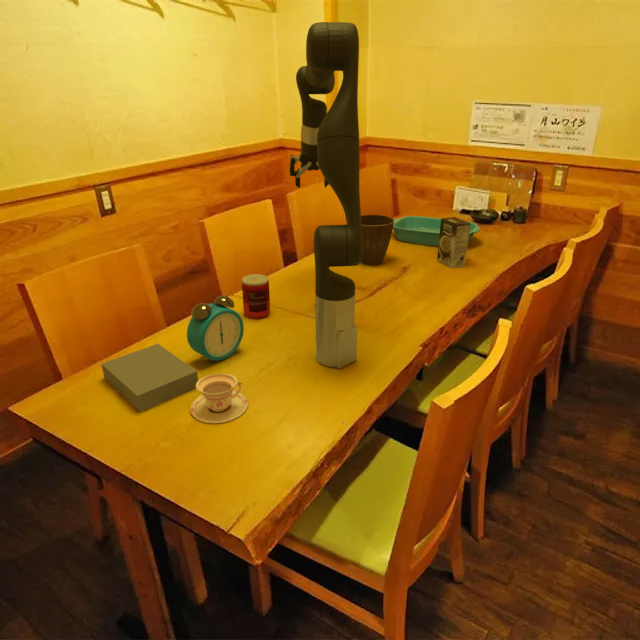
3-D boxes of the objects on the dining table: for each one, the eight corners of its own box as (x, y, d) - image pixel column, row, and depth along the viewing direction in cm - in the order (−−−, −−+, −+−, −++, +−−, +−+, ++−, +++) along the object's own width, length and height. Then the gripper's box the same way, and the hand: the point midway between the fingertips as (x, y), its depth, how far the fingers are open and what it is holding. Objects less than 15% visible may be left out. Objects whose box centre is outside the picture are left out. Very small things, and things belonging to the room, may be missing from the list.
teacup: (192, 429, 103) (188, 403, 100) (189, 396, 113) (185, 372, 110) (252, 419, 106) (250, 393, 103) (244, 388, 116) (242, 364, 113)
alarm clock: (204, 370, 123) (197, 312, 116) (188, 361, 126) (181, 305, 120) (246, 350, 131) (242, 295, 125) (230, 342, 135) (225, 289, 129)
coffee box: (436, 261, 193) (440, 218, 186) (450, 258, 195) (454, 216, 188) (451, 268, 185) (456, 224, 178) (465, 266, 188) (471, 222, 181)
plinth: (198, 386, 116) (197, 371, 114) (140, 412, 108) (137, 395, 106) (160, 357, 128) (157, 343, 126) (104, 378, 119) (101, 363, 118)
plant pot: (369, 272, 182) (371, 227, 175) (343, 261, 193) (343, 218, 186) (400, 263, 190) (403, 220, 183) (373, 253, 201) (374, 212, 194)
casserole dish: (382, 241, 216) (383, 225, 213) (399, 228, 234) (400, 213, 230) (471, 254, 201) (474, 236, 197) (483, 239, 218) (485, 222, 215)
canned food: (257, 306, 156) (254, 272, 151) (276, 313, 151) (274, 278, 147) (238, 314, 151) (235, 279, 146) (257, 322, 146) (255, 285, 141)
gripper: (290, 144, 149) (290, 193, 161) (339, 143, 151) (336, 192, 162) (288, 132, 154) (288, 180, 166) (335, 131, 156) (332, 179, 168)
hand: (312, 186), depth 164 cm, fingers open, 8 cm apart
